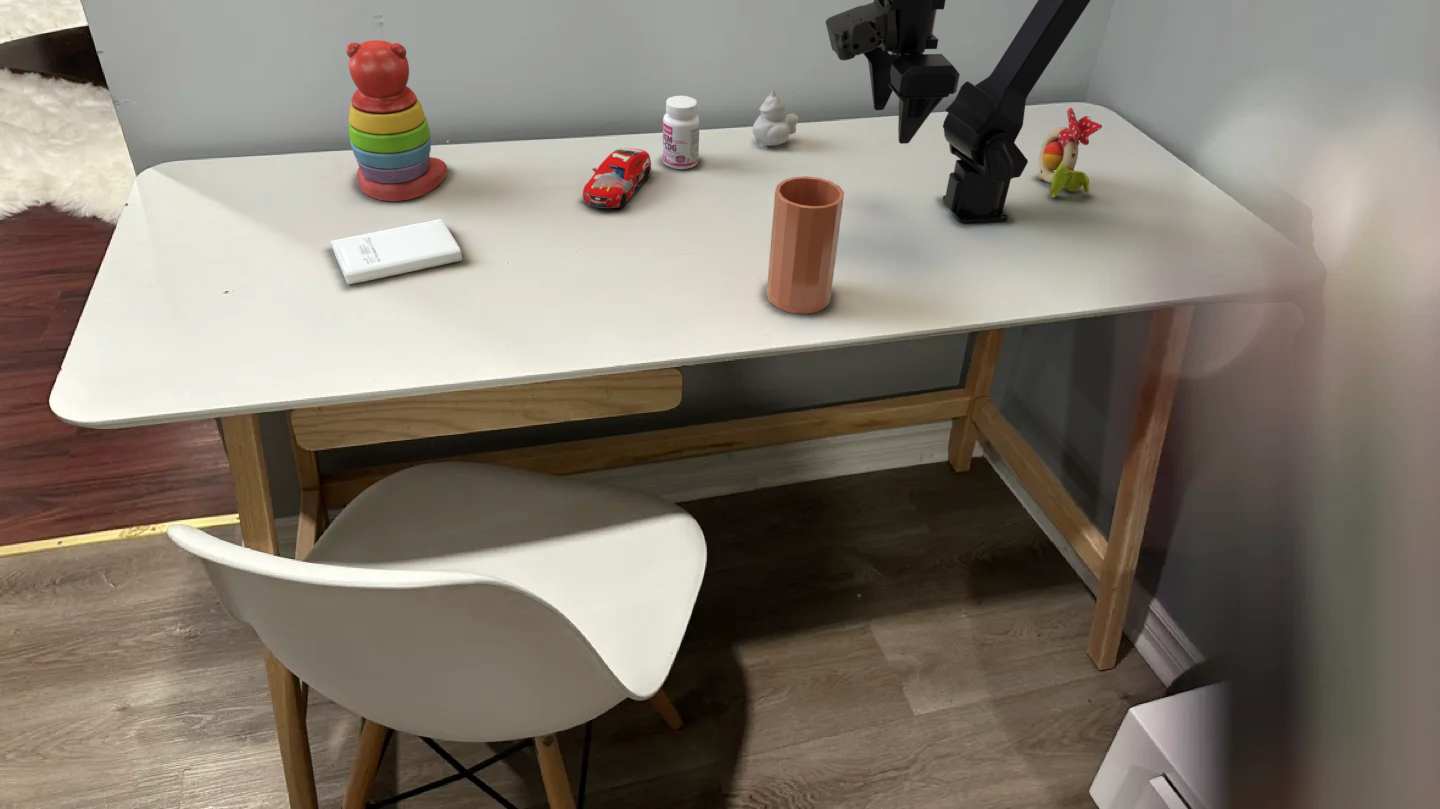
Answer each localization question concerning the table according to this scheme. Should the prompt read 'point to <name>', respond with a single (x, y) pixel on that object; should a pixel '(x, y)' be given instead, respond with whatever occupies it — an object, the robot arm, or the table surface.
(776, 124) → the white rounded figure
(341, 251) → the hard drive
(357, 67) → the stacking bear
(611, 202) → the race car
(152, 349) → the table surface
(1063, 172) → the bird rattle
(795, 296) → the pencil cup
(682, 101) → the pill bottle
